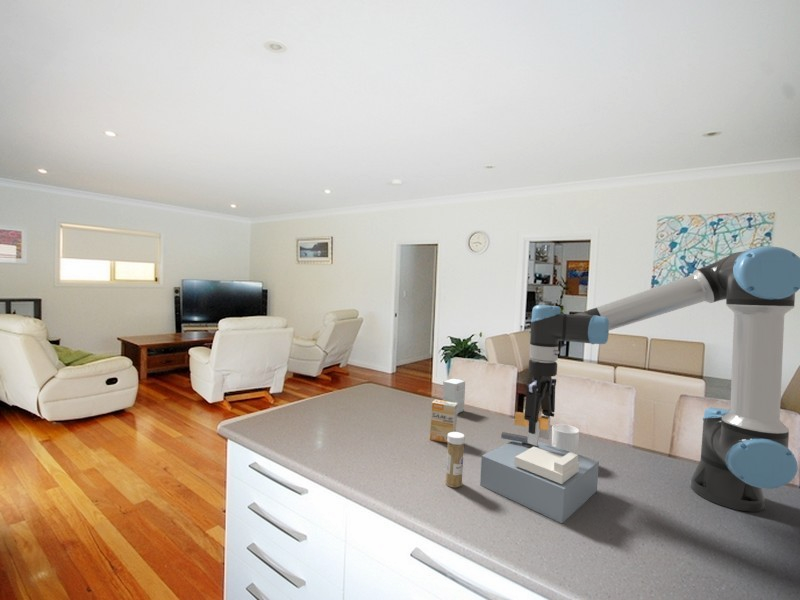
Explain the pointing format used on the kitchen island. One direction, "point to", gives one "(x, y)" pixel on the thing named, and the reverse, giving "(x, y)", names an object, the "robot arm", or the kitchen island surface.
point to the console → (538, 481)
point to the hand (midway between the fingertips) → (538, 440)
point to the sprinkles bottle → (454, 459)
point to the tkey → (522, 422)
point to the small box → (454, 392)
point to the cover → (548, 464)
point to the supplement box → (443, 419)
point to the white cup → (565, 437)
